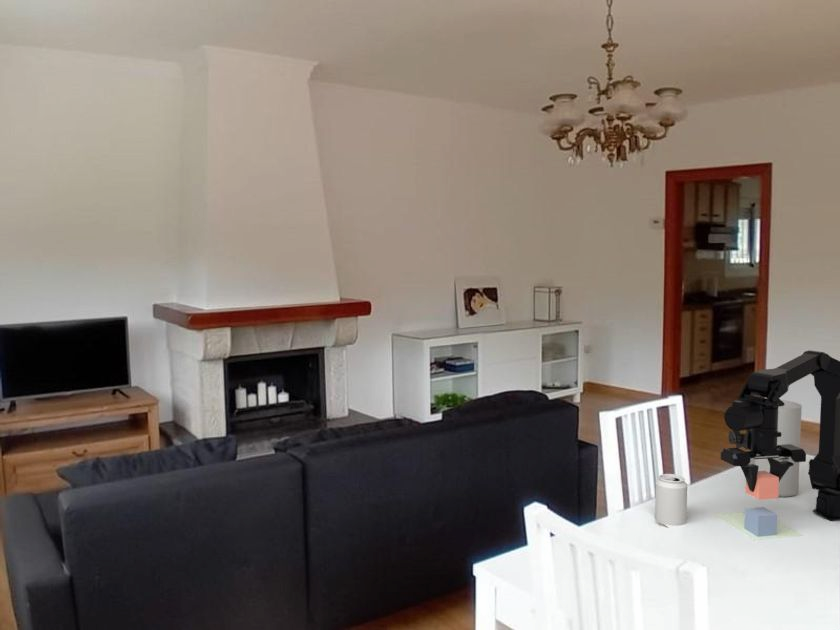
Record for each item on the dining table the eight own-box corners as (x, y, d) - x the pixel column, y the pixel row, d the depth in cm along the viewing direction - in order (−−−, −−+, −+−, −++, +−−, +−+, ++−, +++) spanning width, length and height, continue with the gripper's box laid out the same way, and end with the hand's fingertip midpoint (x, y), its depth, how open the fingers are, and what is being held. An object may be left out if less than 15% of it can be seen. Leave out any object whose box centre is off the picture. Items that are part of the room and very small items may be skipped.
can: (688, 530, 170) (690, 482, 169) (656, 528, 172) (657, 480, 171) (683, 519, 177) (684, 473, 176) (652, 517, 179) (653, 471, 178)
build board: (760, 514, 180) (760, 511, 180) (804, 539, 164) (804, 535, 164) (713, 518, 178) (714, 514, 177) (753, 544, 162) (754, 540, 162)
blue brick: (763, 527, 169) (763, 507, 169) (776, 535, 164) (777, 514, 164) (744, 528, 168) (745, 508, 168) (757, 536, 164) (758, 516, 163)
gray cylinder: (746, 492, 196) (749, 405, 194) (751, 480, 207) (754, 397, 204) (796, 500, 189) (800, 410, 187) (799, 487, 200) (803, 401, 198)
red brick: (764, 491, 169) (764, 470, 168) (778, 498, 164) (778, 477, 163) (745, 492, 168) (746, 472, 167) (758, 499, 163) (759, 478, 162)
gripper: (777, 415, 174) (774, 477, 175) (708, 419, 171) (706, 481, 172) (809, 426, 163) (806, 492, 164) (736, 431, 160) (734, 497, 161)
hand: (761, 490), depth 166 cm, fingers closed on red brick, 5 cm apart
